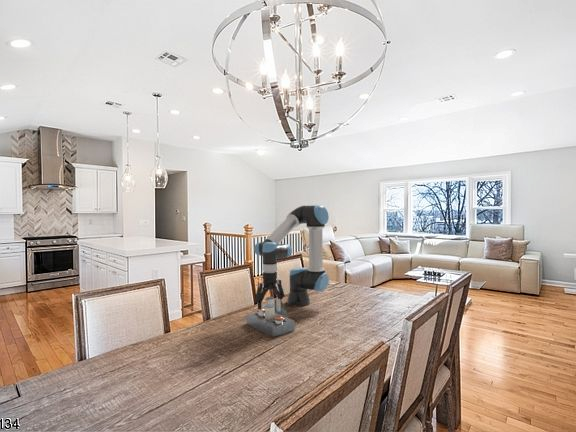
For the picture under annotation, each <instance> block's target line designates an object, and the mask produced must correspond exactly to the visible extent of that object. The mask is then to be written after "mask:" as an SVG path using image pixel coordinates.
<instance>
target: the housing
mask: <svg viewBox="0 0 576 432" xmlns="http://www.w3.org/2000/svg"><path fill="white" fill-rule="evenodd" d="M276 315H280V314H277V313H275V316H276ZM295 322H296V321H295V320H294V319H292V318H290V317H288V316H287V317H284V319H283V323H280V324H275V319H273V320H269V321H268V320H266V319H265V315H263V316H258V312H257V311H255V312H252V313H248V314H246V324H247V325H248V326H250V327H252V328H254V329H256V330H258V331H260V332H262V333H264V334H266V335H267V336H269V337H271V338H276V337H278V336H282V335H285V334H289V333H290V332H294V331H295V329H296V328H295V327H296V326H295V325H296V323H295Z"/></svg>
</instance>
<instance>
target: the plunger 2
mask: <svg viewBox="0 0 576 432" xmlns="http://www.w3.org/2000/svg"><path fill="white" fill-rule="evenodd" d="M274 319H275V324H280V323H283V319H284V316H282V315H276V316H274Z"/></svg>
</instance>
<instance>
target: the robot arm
mask: <svg viewBox="0 0 576 432" xmlns="http://www.w3.org/2000/svg"><path fill="white" fill-rule="evenodd" d="M329 217H330V216H329V212H328V210H327V208H326V207H325V206H324V205H317V204H316V205H300V206H298V207H296V208H295V209H293V210H292V211H290V212H289V213H288V214H287V215H286V218H285V219H284V221H282V222H281V223H280V225H278V227H276V228H275V229H274V231H272V233H270V235H268V236H267V237H266V238H265V239H264V241H262V242H256V243H255V245H254V248H253V252H254V254H255V255H257V256H260V257H262V282H258V283H257V289H256V293H255V297H254V300H253V301H254V303H257V309H259V315H261V316H263V308H264V303H263V300H264V299H265V298H266V297H265V296H266V294H267V292H268V291H271V290H273V292H274V294H275V295H276V299H275V300H276V310H277V311H279V312H280V311H281V303H283V302H282V300H283V299H284V298H285V296H286V295H285V293H284V288H283V285H282V280H281V279H277V278H278V260H279V259H286V258H288V257H290V256H291V255H292V253H293V249H292V247H291V245H289V244H288V243H282V244H281V242H282V241H283V240H284V239H285V238H286V237H287V236H288V235H289V234H290V232H292V230H294V229H295V228H297V227H299V226H300V225H301V224H306V228H307V229H308V267H297V268H292V269H290V271H289V292H288V296H287V299H286V303H287V305H290V306H292V307H305V306H308V305H310V304H311V300H310V296H309V293H308V290H310V291H315V292H324V291H325V290H326V289H327V287H328V285H329V281H330V277H329V274H328V273H326V268H325V267H323V263H324V262H323V257H324V256H323V254H324V251H323V247H324V246H323V229H324V228H326V227H325V226H326V224H327V223H328V222H329Z"/></svg>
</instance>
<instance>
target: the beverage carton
mask: <svg viewBox="0 0 576 432" xmlns="http://www.w3.org/2000/svg"><path fill="white" fill-rule="evenodd" d="M287 310H288V309H287V308H286V307H285V305H284V303H283V302H282V303H281V311H280V312H279V311H277V310H276V299H275V313H277V314H280V315H282V316H284V317H287V318H288V315H287V314H288V311H287Z"/></svg>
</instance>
